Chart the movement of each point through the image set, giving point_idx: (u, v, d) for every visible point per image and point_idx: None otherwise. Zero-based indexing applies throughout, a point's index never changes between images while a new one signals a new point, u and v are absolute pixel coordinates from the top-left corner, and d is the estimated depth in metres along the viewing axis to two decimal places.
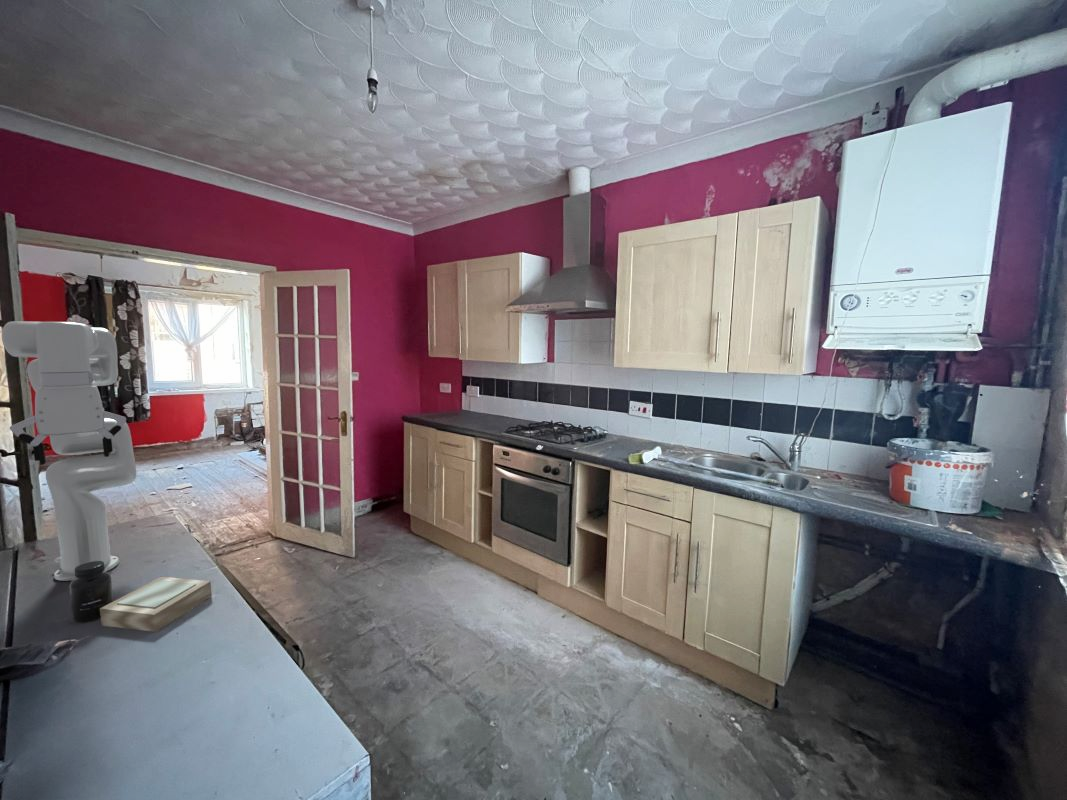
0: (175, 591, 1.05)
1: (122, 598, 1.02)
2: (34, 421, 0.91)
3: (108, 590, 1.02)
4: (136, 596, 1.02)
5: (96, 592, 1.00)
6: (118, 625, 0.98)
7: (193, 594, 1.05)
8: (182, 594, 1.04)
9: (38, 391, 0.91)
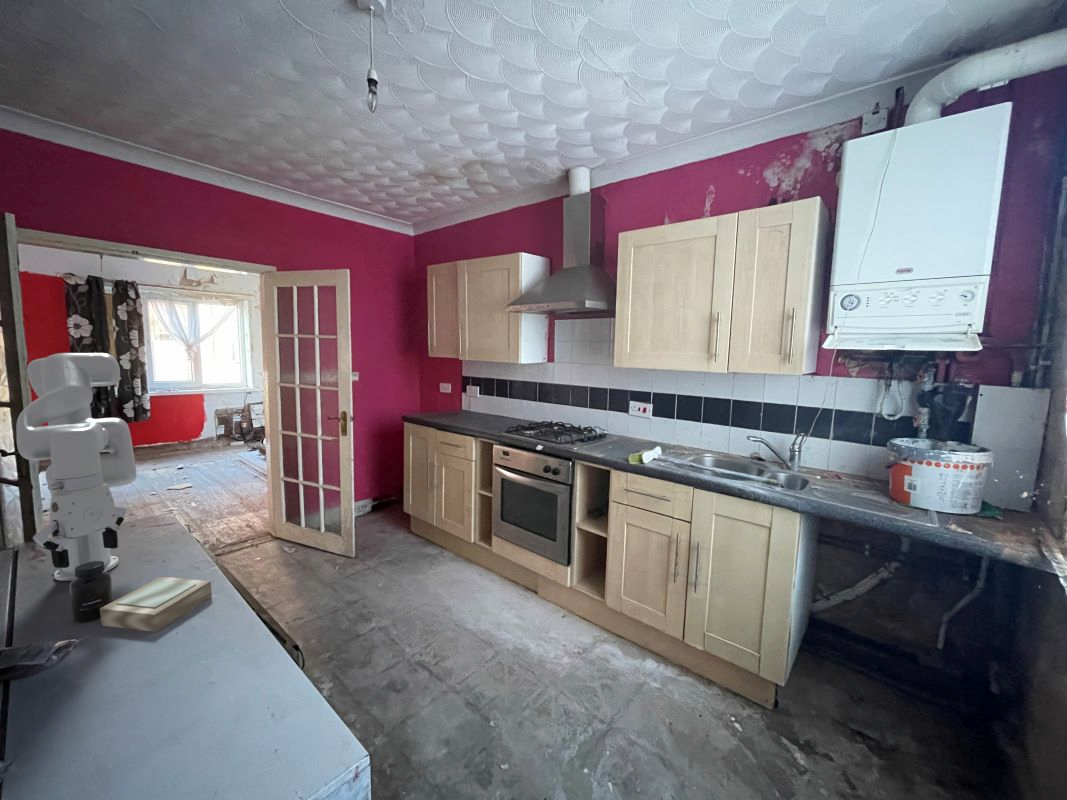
0: (175, 591, 1.05)
1: (122, 598, 1.02)
2: None
3: (108, 590, 1.02)
4: (136, 596, 1.02)
5: (96, 592, 1.00)
6: (118, 625, 0.98)
7: (193, 594, 1.05)
8: (182, 594, 1.04)
9: None
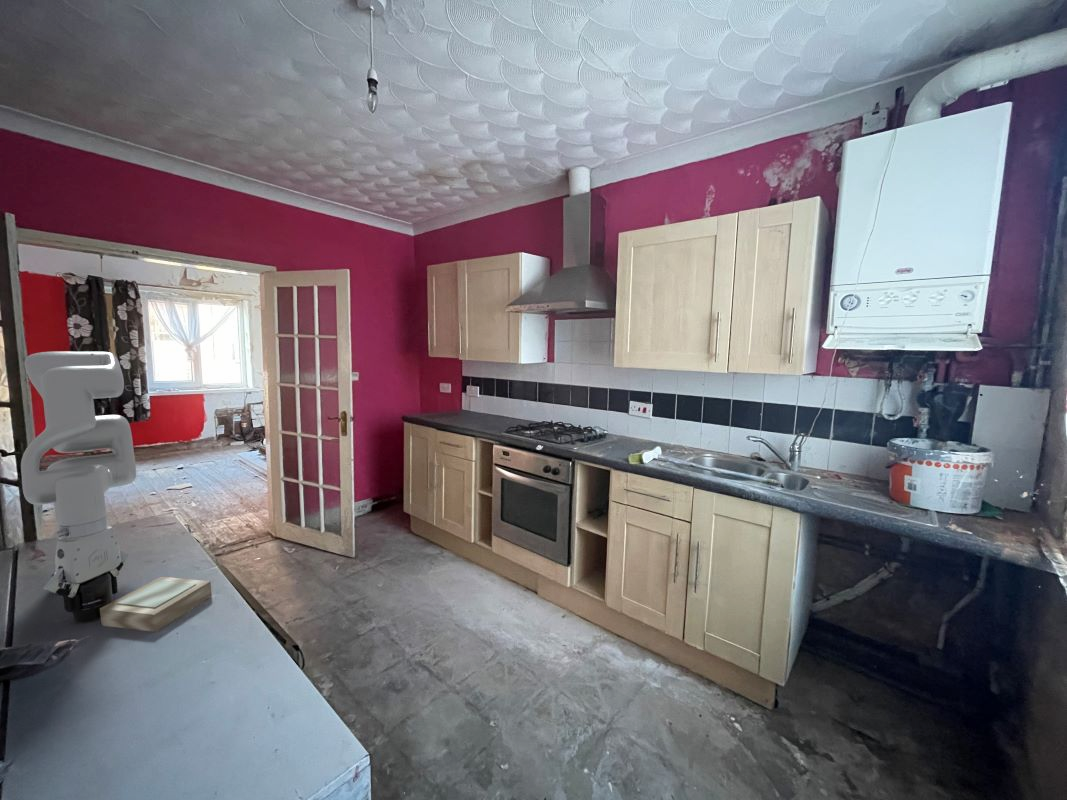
0: (175, 591, 1.05)
1: (122, 598, 1.02)
2: None
3: (108, 590, 1.02)
4: (136, 596, 1.02)
5: (96, 592, 1.00)
6: (118, 625, 0.98)
7: (193, 594, 1.05)
8: (182, 594, 1.04)
9: None
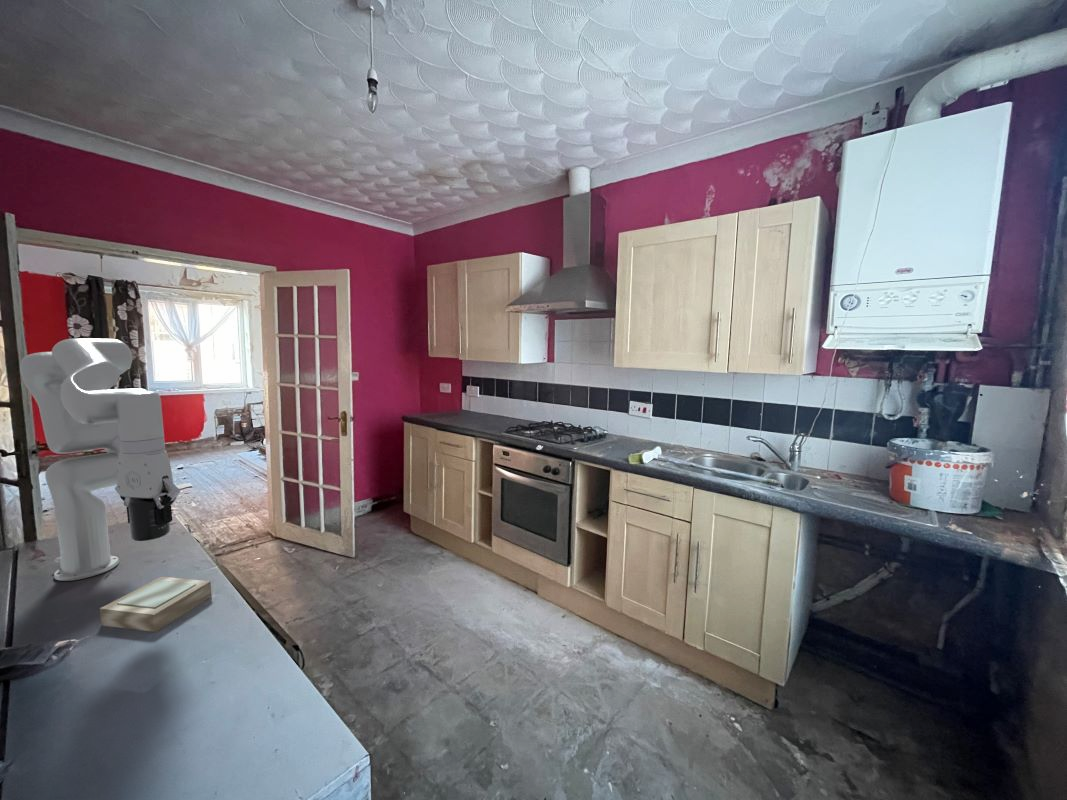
0: (175, 591, 1.05)
1: (122, 598, 1.02)
2: None
3: (139, 517, 0.98)
4: (136, 596, 1.02)
5: (129, 512, 0.98)
6: (118, 625, 0.98)
7: (193, 594, 1.05)
8: (182, 594, 1.04)
9: (166, 453, 1.01)
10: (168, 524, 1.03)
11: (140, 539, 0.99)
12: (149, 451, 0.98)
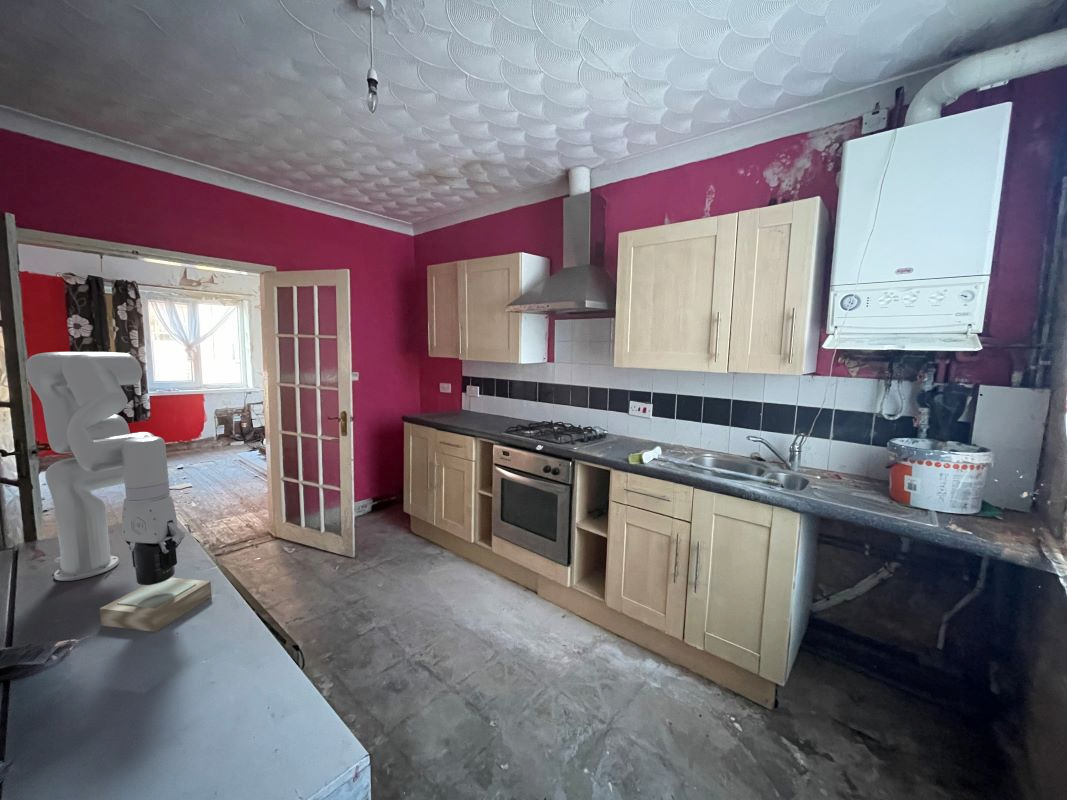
0: (175, 591, 1.05)
1: (122, 598, 1.02)
2: None
3: (144, 562, 0.99)
4: (136, 596, 1.02)
5: (134, 557, 1.00)
6: (118, 625, 0.98)
7: (193, 594, 1.05)
8: (182, 594, 1.04)
9: (170, 498, 1.02)
10: (173, 567, 1.04)
11: (145, 583, 1.00)
12: (154, 497, 0.99)
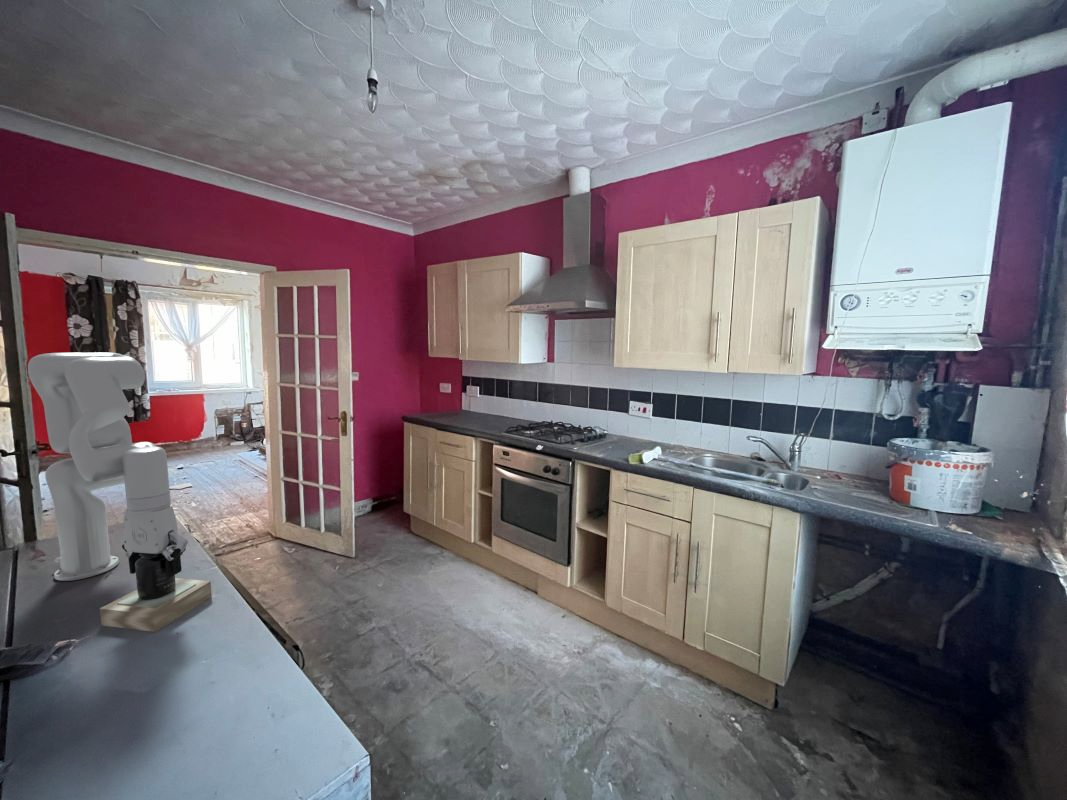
0: (175, 591, 1.05)
1: (122, 598, 1.02)
2: None
3: (145, 577, 1.00)
4: (136, 596, 1.02)
5: (136, 572, 1.00)
6: (118, 625, 0.98)
7: (193, 594, 1.05)
8: (182, 594, 1.04)
9: (171, 508, 1.02)
10: (174, 581, 1.05)
11: (146, 598, 1.00)
12: (155, 507, 0.99)
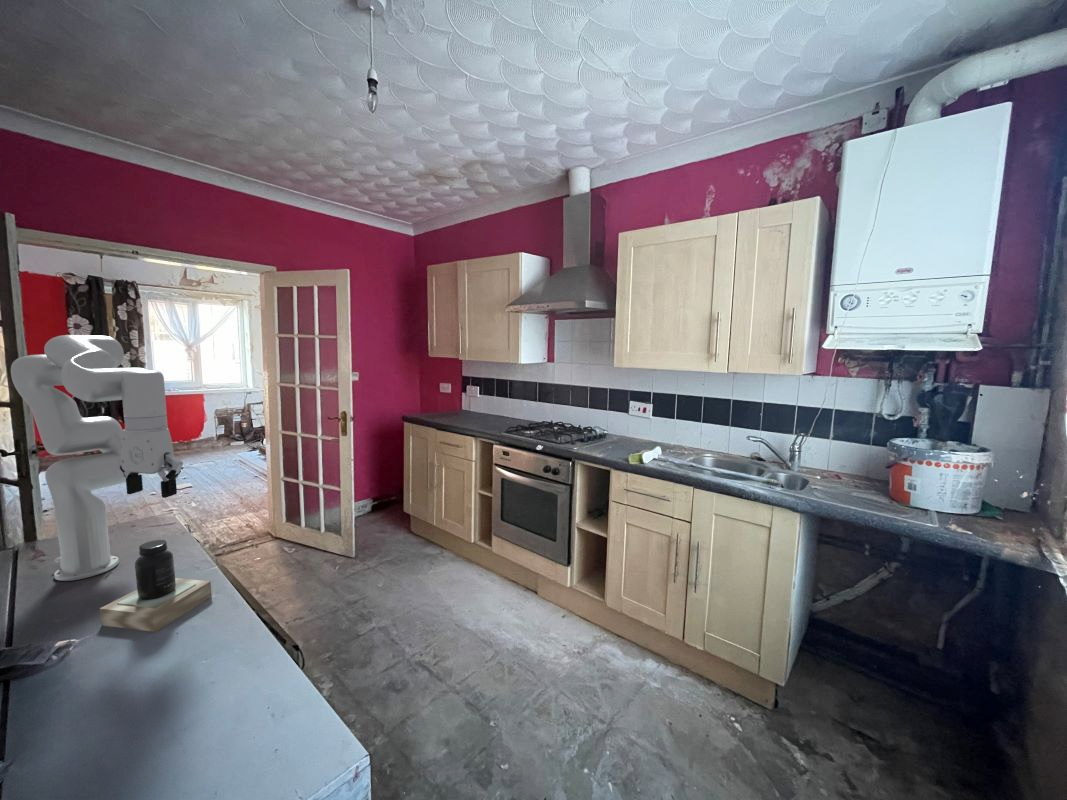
0: (175, 591, 1.05)
1: (122, 598, 1.02)
2: None
3: (145, 577, 1.00)
4: (136, 596, 1.02)
5: (136, 572, 1.00)
6: (118, 625, 0.98)
7: (193, 594, 1.05)
8: (182, 594, 1.04)
9: (168, 431, 1.05)
10: (174, 581, 1.05)
11: (146, 598, 1.00)
12: (152, 428, 1.02)
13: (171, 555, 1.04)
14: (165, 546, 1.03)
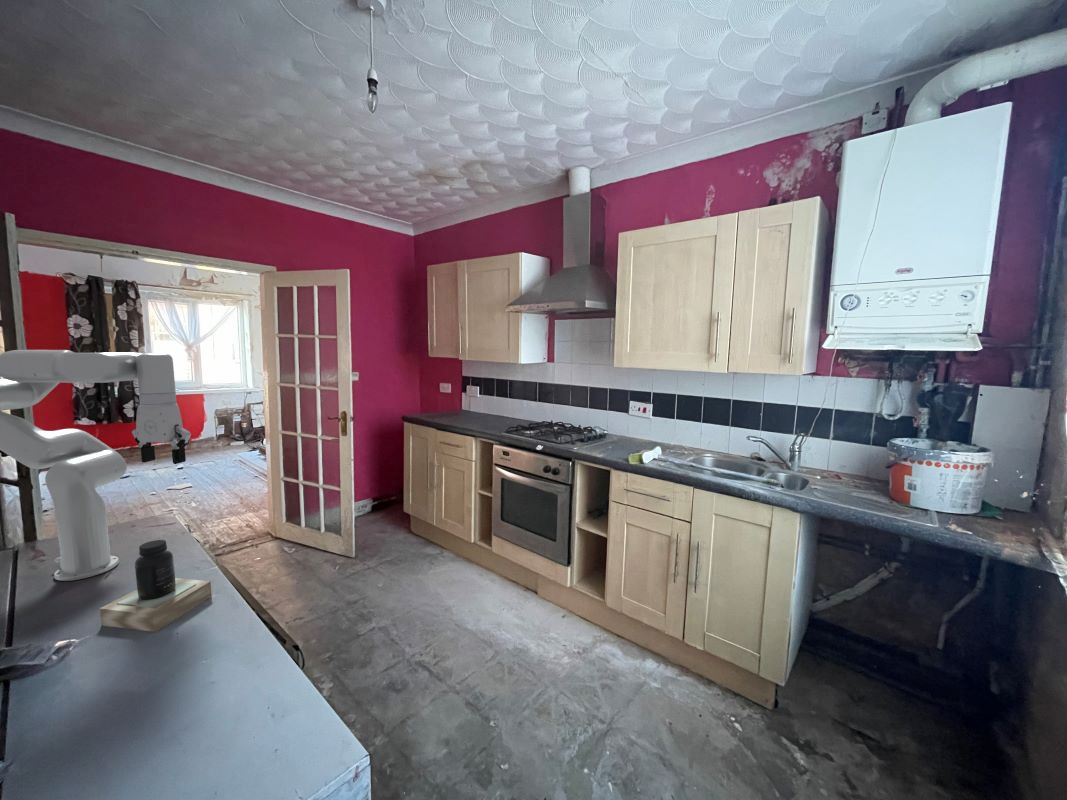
0: (175, 591, 1.05)
1: (122, 598, 1.02)
2: None
3: (145, 577, 1.00)
4: (136, 596, 1.02)
5: (136, 572, 1.00)
6: (118, 625, 0.98)
7: (193, 594, 1.05)
8: (182, 594, 1.04)
9: (177, 406, 1.20)
10: (174, 581, 1.05)
11: (146, 598, 1.00)
12: (163, 403, 1.17)
13: (171, 555, 1.04)
14: (165, 546, 1.03)
